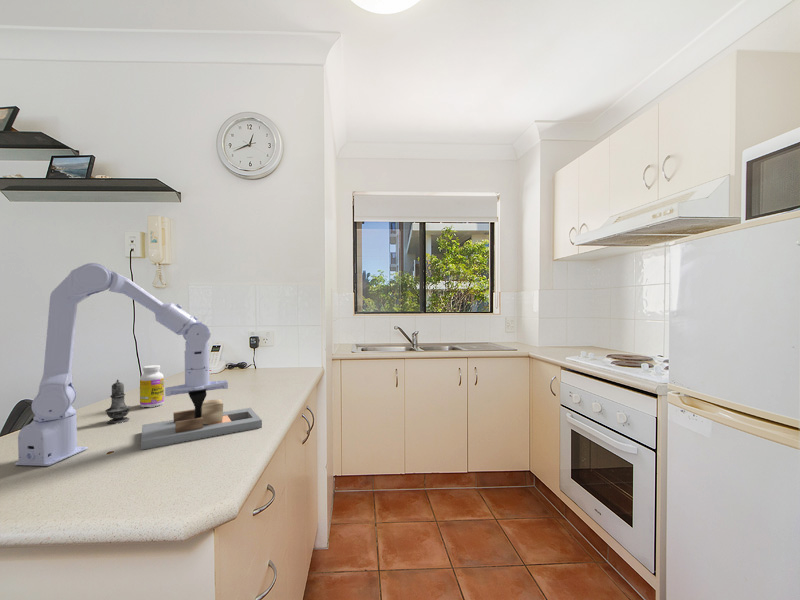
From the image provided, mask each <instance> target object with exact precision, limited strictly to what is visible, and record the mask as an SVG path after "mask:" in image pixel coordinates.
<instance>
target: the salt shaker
mask: <svg viewBox="0 0 800 600" xmlns="http://www.w3.org/2000/svg"><path fill="white" fill-rule="evenodd" d="M124 385H125V384H124V383H123V382H120V380H119V379H116V381H115V382H114V383H113V384H111V395H110V396H109V397H110V399H111V404H110V407H108V408H107V409H105V413H106V415H107V417H108V418H110V419H109V420H107V422H106V424H108V425H117V424H116V423H118V424H123V423H126V422H129V421H130V420H129V419H130V418H129V417H126V416H127V415H128V414H129V412H130V409H131V406H130V405H126V402H125V396H126V394H125V386H124ZM128 420H129V421H128ZM125 421H126V422H125ZM122 422H123V423H122Z"/></svg>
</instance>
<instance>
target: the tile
mask: <svg viewBox="0 0 800 600" xmlns="http://www.w3.org/2000/svg"><path fill="white" fill-rule="evenodd" d="M230 421H231V420H230V418H229V417H228V416H227V415H225V416H223V419H222V422H221V423H225V422H230ZM213 424H219V423H212V424H208V425H213Z"/></svg>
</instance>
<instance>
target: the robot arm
mask: <svg viewBox="0 0 800 600" xmlns="http://www.w3.org/2000/svg"><path fill="white" fill-rule="evenodd" d="M107 290H108V292H111V293H115V294H116V293H117V294H122V295H125V296H127V297H128V298H129V299H131V300H133V301H134V302H136V303H138V304H140V305H141V306H142V307H145V308H146V309H148V310H149V311H151V312H152V313H154V316H155V317H154V318H155V321H156V322H157V323H159V324H160V325H162V326H163V327H165V328H167V329H169V331H170V332H172V333H174V334H176V335H178V336H182V337H183V339H184V340H185V344H184V345H185V347H184V348H185V350H184V383H183V384H180V385H174V386H166V387H164V397H170V396H176V395H182V394H188V396H189V398H190V400H191V401H192V403H193V406H194V409H195V413H194V417H195V418H200V417H201V410H200V409H201V406H202V404H203V401H205V400H206V397H207V393H208V391H214V390H222V389H223V390H227V389H228V388H229V383H228V380H226V379H225V380H212V381H211V380H210V350H209V340H210V338H211V332H210V329H209V327H208V325H206V324H204V323H203V322H201V321H198V320H199V317H197V316H196V315H194V316H193V315H191V314H189V313H188V312H187V311H185V310H184V309H182V308H183V306H182V305H180V304H179V303H177V304H175V303H174V302H168V303H166V302H165V303H163V302H162V301H161V300H159V299H158V298H156V297H155V296H154V295H152V294H151V293H149V292H148V291H146V290H145V289H144V288H142V287H141V286H139V285H138V284H136V283H135V282H134V281H132V280H131V279H130V278H128V277H126V276H124V275H121V274H120V273H117V272H116V271H113V270H110V269H109V268H107V267H106V266H104V265H102V264H101V263H97V262H91V263H89V262H88V263H85V264H82V265H81V266H78V267H76V268H74V269H72V270H71V271H70V272H69V274H68V275H67V276H66V277H65V278H64V279H63V280H62V281H61V282H60V283H59V284H58V286H56V287H55V288H54V289H53V290H52V291H51V293H50V296H49V307H48V317H47V329H46V339H45V351H44V362H43V363H44V364H43V374H42V377H41V381H40V382H39V386H38V392H37V394H36V396H35V397H34V398H33V400H32V402H31V406H30V407H31V411H32V413H33V414H34V416H33V420H32V421H31V422H30V423H29V424H26V425H25V426H23V427H22V428H20V431H19V432H18V437H17V445H18V446H17V449H18V455H17V456H18V461H16V462H15V463H14V465H15V466H39V467H40V466H41V467H42V466H43V467H48V466H52V465H54V464H56V463H58V462H60V461H63V460H65V459H67V458H69V457H72V456H74V455H76V454H79V453H81V452H83V451H86V450H87V449H88V446H79V445H78V422H77V421H78V419H77V418H78V416H77V410H76V409H75V408H74V407H73V406H72V405H73V404H74V403H75V401H76V399H77V391H76V389H75V387H74V385H73V371H72V370H73V360H74V347H75V335H76V325H77V324H76V323H77V315H78V313H77V312H78V304H79V303H81V302H82V301H84V300H86V299H88V298H89V297H91V296H92V295H94V294H98V293H101V292H104V291H107Z"/></svg>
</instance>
